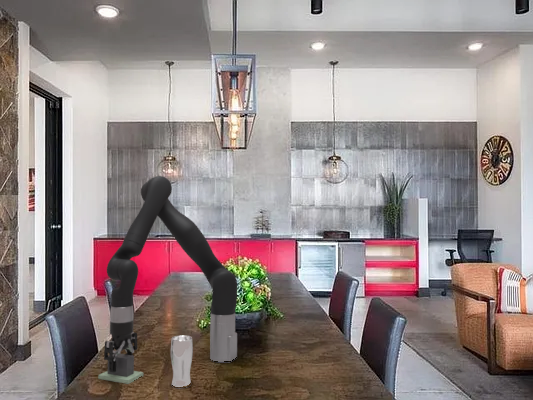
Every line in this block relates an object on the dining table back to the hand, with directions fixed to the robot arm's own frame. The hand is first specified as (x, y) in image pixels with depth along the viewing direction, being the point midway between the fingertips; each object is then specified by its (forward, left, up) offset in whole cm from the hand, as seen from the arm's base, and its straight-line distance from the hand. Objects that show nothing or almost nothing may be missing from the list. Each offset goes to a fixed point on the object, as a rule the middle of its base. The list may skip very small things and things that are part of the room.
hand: (121, 368), depth 165 cm
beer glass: (-22, -2, -3) cm, 22 cm away
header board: (0, 0, -3) cm, 3 cm away
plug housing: (0, 0, -2) cm, 2 cm away
